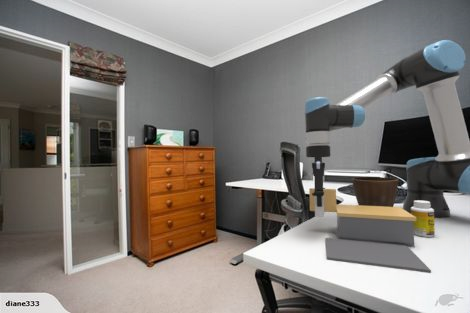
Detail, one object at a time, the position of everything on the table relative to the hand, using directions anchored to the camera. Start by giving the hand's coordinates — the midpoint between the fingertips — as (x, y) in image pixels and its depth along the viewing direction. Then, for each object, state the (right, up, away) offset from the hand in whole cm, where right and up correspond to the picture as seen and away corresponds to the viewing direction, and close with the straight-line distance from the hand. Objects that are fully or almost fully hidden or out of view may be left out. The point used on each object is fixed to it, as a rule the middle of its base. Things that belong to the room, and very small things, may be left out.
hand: (319, 212), depth 74 cm
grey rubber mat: (+6, -6, -17) cm, 19 cm away
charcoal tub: (+14, -6, -5) cm, 16 cm away
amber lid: (+10, 0, -4) cm, 11 cm away
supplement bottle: (+30, -6, -5) cm, 31 cm away
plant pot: (+25, -6, +11) cm, 28 cm away
